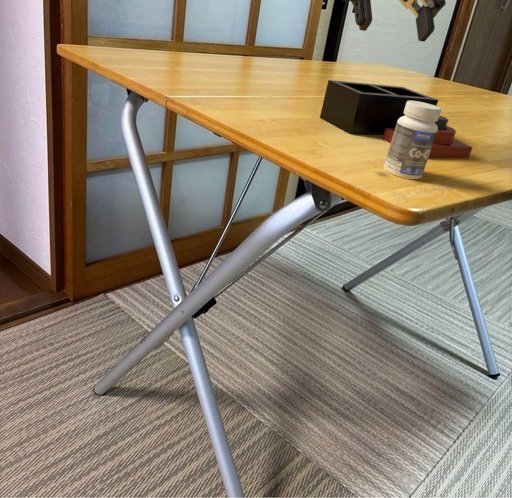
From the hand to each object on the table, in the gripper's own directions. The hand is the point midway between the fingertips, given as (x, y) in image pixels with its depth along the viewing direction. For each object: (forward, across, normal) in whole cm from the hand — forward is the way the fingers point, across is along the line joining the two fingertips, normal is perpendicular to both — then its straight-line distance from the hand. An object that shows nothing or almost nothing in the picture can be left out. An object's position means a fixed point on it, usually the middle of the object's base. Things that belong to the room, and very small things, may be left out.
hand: (396, 32), depth 66 cm
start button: (+7, +10, +9) cm, 16 cm away
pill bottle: (+19, 0, +3) cm, 19 cm away
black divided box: (+3, +6, +18) cm, 19 cm away
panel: (+10, +10, +11) cm, 18 cm away
